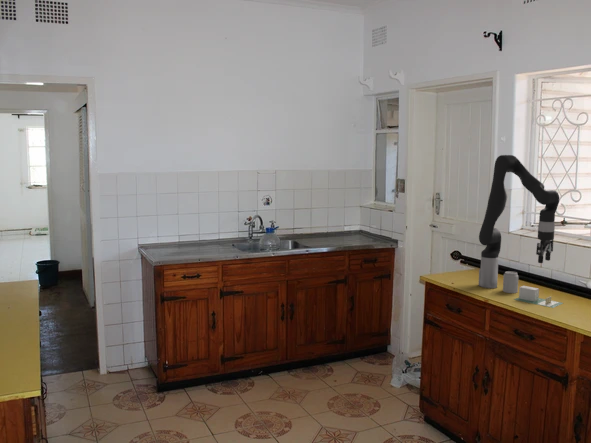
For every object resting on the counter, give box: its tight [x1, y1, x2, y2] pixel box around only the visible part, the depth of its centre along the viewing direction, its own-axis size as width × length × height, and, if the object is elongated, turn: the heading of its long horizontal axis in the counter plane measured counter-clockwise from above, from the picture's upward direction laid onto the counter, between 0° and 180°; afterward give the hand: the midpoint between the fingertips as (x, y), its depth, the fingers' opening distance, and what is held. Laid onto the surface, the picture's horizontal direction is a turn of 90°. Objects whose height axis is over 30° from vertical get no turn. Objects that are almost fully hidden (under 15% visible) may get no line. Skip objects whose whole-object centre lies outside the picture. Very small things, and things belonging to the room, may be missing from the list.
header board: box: [513, 295, 564, 309], centre depth 280 cm, size 20×12×4 cm, turn 42°
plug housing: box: [518, 285, 540, 302], centre depth 283 cm, size 8×4×6 cm, turn 42°
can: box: [502, 270, 519, 294], centre depth 299 cm, size 8×8×12 cm
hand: (544, 261), depth 281 cm, fingers open, 8 cm apart
